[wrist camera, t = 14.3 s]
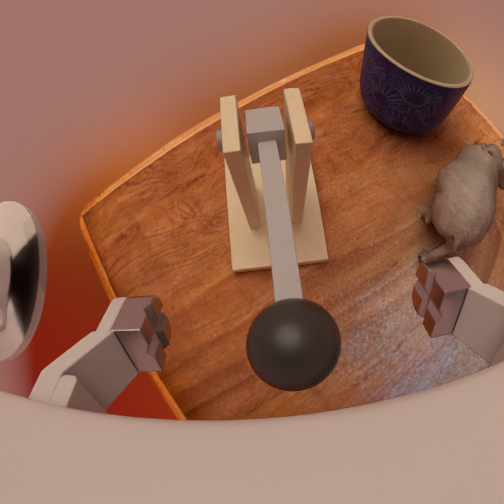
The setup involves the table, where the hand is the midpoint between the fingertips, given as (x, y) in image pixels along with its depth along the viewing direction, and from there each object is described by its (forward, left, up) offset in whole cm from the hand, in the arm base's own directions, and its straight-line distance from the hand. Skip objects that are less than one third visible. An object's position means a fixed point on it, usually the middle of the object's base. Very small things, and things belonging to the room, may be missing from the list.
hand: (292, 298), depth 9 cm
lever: (+2, +3, -6) cm, 7 cm away
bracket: (+5, +9, -20) cm, 23 cm away
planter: (+27, +11, -20) cm, 36 cm away
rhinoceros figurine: (+22, -3, -20) cm, 30 cm away
